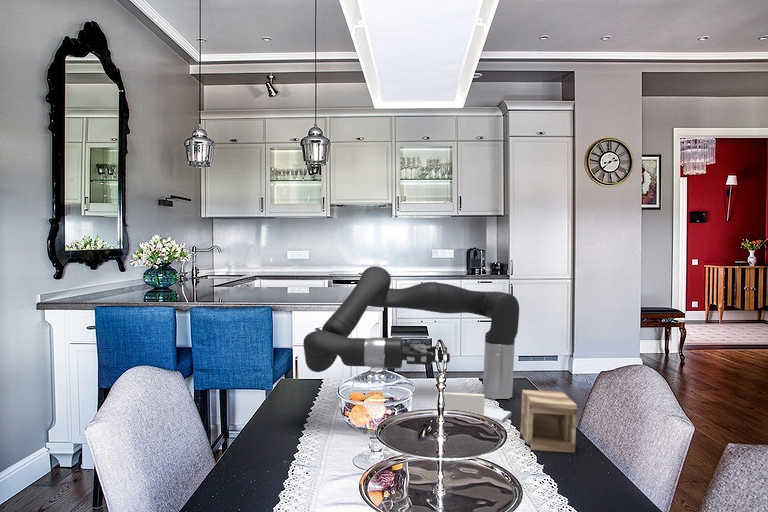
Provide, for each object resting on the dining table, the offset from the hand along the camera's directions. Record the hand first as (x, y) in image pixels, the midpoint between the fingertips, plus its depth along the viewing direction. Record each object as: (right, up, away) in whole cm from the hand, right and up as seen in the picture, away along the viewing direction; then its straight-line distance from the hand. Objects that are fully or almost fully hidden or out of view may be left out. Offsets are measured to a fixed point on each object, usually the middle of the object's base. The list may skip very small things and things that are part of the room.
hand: (448, 354), depth 126 cm
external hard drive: (+12, -21, +16) cm, 29 cm away
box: (+23, -21, -3) cm, 31 cm away
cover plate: (+3, -20, +2) cm, 20 cm away
